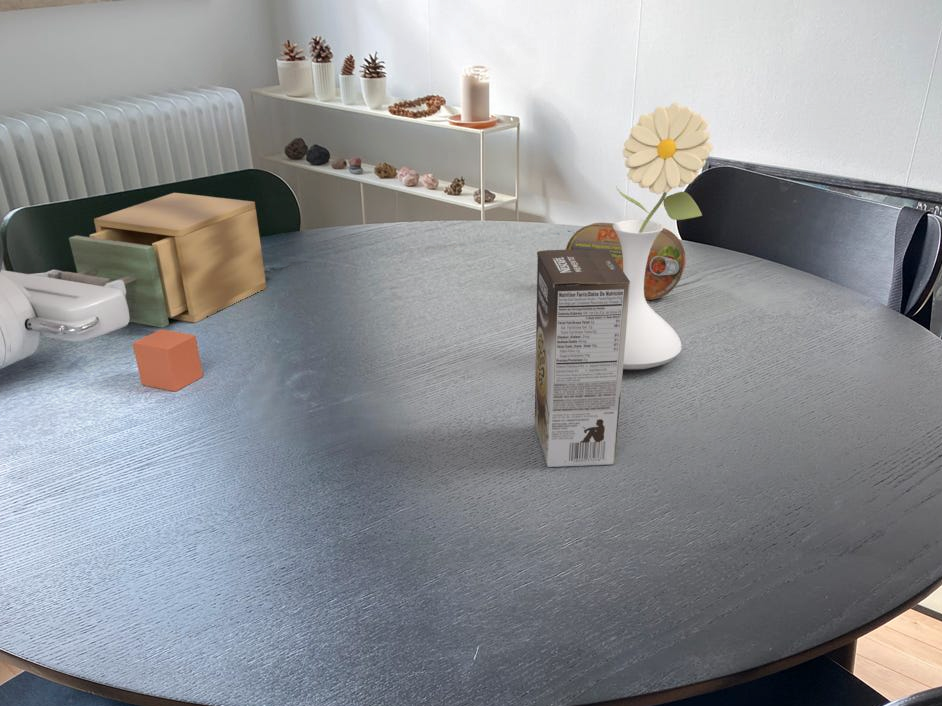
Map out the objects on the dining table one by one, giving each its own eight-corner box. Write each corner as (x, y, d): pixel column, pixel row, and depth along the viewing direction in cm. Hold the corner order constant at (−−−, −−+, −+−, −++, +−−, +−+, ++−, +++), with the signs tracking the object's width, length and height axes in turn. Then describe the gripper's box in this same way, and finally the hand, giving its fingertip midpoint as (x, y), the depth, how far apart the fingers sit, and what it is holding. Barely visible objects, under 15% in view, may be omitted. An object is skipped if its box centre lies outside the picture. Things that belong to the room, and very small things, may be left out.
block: (175, 392, 101) (167, 349, 98) (141, 385, 102) (131, 342, 100) (203, 376, 104) (195, 334, 101) (169, 370, 105) (161, 328, 103)
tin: (562, 291, 126) (565, 221, 121) (569, 284, 128) (572, 215, 123) (678, 304, 121) (686, 232, 116) (683, 296, 124) (691, 226, 119)
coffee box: (531, 425, 93) (535, 249, 84) (598, 422, 94) (610, 246, 84) (544, 469, 86) (550, 281, 76) (617, 465, 86) (632, 278, 77)
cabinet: (195, 323, 117) (178, 229, 111) (114, 309, 122) (93, 218, 116) (266, 288, 128) (255, 201, 122) (189, 276, 132) (174, 192, 126)
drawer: (135, 340, 110) (117, 259, 105) (59, 326, 114) (38, 248, 109) (233, 294, 123) (222, 220, 118) (162, 283, 127) (147, 211, 122)
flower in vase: (552, 361, 106) (562, 101, 91) (615, 333, 113) (634, 87, 98) (652, 393, 99) (680, 116, 84) (713, 361, 106) (749, 100, 91)
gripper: (62, 302, 94) (158, 263, 104) (-87, 276, 101) (16, 242, 111) (79, 365, 98) (170, 322, 108) (-66, 336, 105) (31, 298, 115)
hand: (90, 281), depth 110 cm, fingers closed on drawer, 7 cm apart
